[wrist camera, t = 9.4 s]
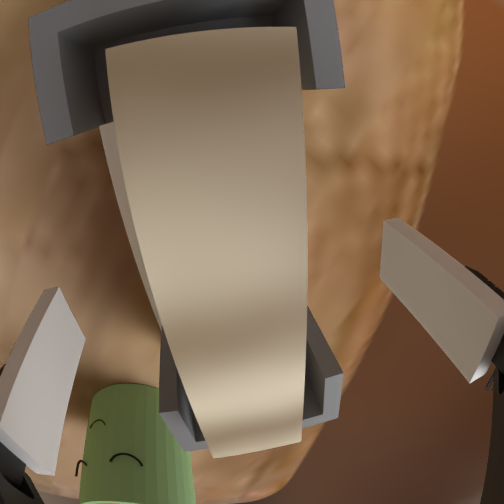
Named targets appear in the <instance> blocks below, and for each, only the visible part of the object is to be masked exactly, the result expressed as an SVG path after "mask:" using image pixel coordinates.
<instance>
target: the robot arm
mask: <svg viewBox="0 0 504 504" xmlns="http://www.w3.org/2000/svg"><path fill="white" fill-rule="evenodd" d="M379 278H380V279H381V280H382V281H383V282H384V283H385V284H386V285H387V287H388V288H389V289H390V290H391V291H392V292H393V293H394V294H395V295H396V296H397V298H398V299H399V300H400V301H401V302H402V303H403V304H404V305H405V306H406V308H407V309H408V310H409V311H410V312H411V313H412V314H413V316H414V317H415V318H416V319H417V320H418V321H419V322H420V324H421V325H422V326H423V327H424V328H425V330H426V331H427V332H428V333H429V334H430V335H431V337H432V338H433V339H434V340H435V341H436V342H437V344H438V345H439V346H440V347H441V348H442V350H443V351H444V352H445V353H446V355H447V356H448V357H449V358H450V359H451V360H452V362H453V363H454V364H455V366H456V367H457V368H458V369H459V371H460V372H461V373H462V374H463V376H464V377H465V378H466V379H467V381H468V382H469V383H471V382H473V381H474V380H476V379H478V378H479V377H481V376H483V375H484V374H485V373H486V371H487V369H488V367H489V365H490V363H491V361H492V362H493V363H494V365H495V366H496V368H495V370H494V372H493V374H492V376H491V378H490V379H489V381H488V383H487V385H486V389H485V390H488V389H489V387H490V386H491V384H492V382H493V389H492V391H493V413H492V427H491V438H490V448H489V456H488V463H487V470H486V476H485V482H484V488H483V492H482V497H481V502H480V504H504V293H503V292H502V291H501V290H500V289H499V288H498V287H497V288H496V287H495V285H494V284H493V283H492V282H490V281H488V279H487V278H486V277H484V276H483V275H482V274H481V273H479V272H478V271H476V270H474V269H471V268H469V267H467V266H465V267H464V266H463V265H462V264H460V263H459V262H458V261H457V260H455V259H454V258H453V257H451V256H450V255H449V254H447V253H446V252H445V251H444V250H442V249H441V248H440V247H438V246H437V245H436V244H434V243H433V242H432V241H430V240H429V239H428V238H426V237H425V236H423V235H422V234H421V233H420V232H418V231H417V230H415V229H414V228H413V227H411V226H410V225H408V224H407V223H406V222H404V221H403V220H401V219H400V218H394V219H389V220H384V221H383V237H382V252H381V265H380V276H379ZM85 340H86V339H85V337H84V335H83V333H82V331H81V330H80V328H79V326H78V324H77V322H76V320H75V318H74V316H73V314H72V312H71V310H70V308H69V306H68V304H67V302H66V300H65V298H64V296H63V294H62V292H61V289H60V287H55V288H51V289H46V290H44V291H43V293H42V295H41V297H40V298H39V300H38V302H37V304H36V305H35V307H34V309H33V311H32V313H31V315H30V316H29V318H28V320H27V322H26V324H25V326H24V328H23V330H22V332H21V334H20V336H19V338H18V340H17V342H16V344H15V346H14V348H13V350H12V352H11V354H10V356H9V358H8V360H7V363H6V364H4V366H3V367H2V368H1V369H0V504H44V502H43V500H42V499H41V497H40V495H39V493H38V492H37V490H36V488H35V486H34V484H33V482H32V480H31V478H30V477H29V476H28V475H27V474H26V473H25V467H26V465H27V466H28V467H29V468H30V469H32V470H33V471H34V472H35V473H37V474H45V475H54V476H55V470H56V463H57V457H58V452H59V446H60V441H61V435H62V430H63V425H64V421H65V416H66V412H67V407H68V403H69V399H70V394H71V390H72V386H73V382H74V379H75V375H76V371H77V367H78V364H79V360H80V357H81V353H82V350H83V346H84V343H85Z"/></svg>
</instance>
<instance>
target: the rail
mask: <svg viewBox="0 0 504 504" xmlns="http://www.w3.org/2000/svg"><path fill="white" fill-rule="evenodd" d="M105 54H106V64H107V74H108V82H109V91H110V98H111V106H112V113H113V120H114V126H115V132H116V138H117V144H118V150H119V156H120V161H121V166H122V171H123V177H124V181H125V186H126V191H127V196H128V200H129V205H130V209H131V214H132V218H133V222H134V226H135V231H136V235H137V239H138V243H139V247H140V250H141V254H142V258H143V262H144V265H145V269H146V273H147V276H148V280H149V283H150V287H151V290H152V294H153V297H154V300H155V304H156V307H157V310H158V313H159V317H160V320H161V323H162V326H163V329H164V332H165V335H166V338H167V341H168V344H169V347H170V350H171V353H172V356H173V359H174V361H175V364H176V367H177V370H178V373H179V375H180V378H181V381H182V383H183V386H184V389H185V391H186V394H187V396H188V399H189V402H190V404H191V407H192V409H193V412H194V414H195V417H196V419H197V422H198V424H199V426H200V429H201V431H202V433H203V436H204V438H205V440H206V443H207V445H208V447H209V450H210V452H211V454H212V456H213V458H219V457H226V456H233V455H239V454H245V453H250V452H255V451H261V450H266V449H270V448H275V447H280V446H284V445H288V444H293V443H297V442H301V435H302V421H303V404H304V386H305V364H306V335H307V274H308V250H307V189H306V160H305V137H304V119H303V102H302V87H301V74H300V61H299V50H298V39H297V29H296V27H247V28H230V29H218V30H207V31H198V32H190V33H183V34H176V35H169V36H163V37H158V38H152V39H147V40H142V41H137V42H132V43H128V44H124V45H119V46H115V47H111V48H107V49H105Z"/></svg>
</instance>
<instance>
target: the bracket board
mask: <svg viewBox="0 0 504 504" xmlns="http://www.w3.org/2000/svg"><path fill="white" fill-rule="evenodd" d="M28 20H29V35H30V47H31V57H32V65H33V73H34V80H35V87H36V93H37V99H38V105H39V110H40V115H41V120H42V125H43V130H44V134H45V139H46V143H47V145H49V144H51V143H54V142H57V141H60V140H62V139H65V138H68V137H71V136H74V135H77V134H79V133H82V132H85V131H87V130H90V129H93V128H96V127H98V126H99V128H100V133H101V138H102V142H103V147H104V151H105V155H106V159H107V164H108V168H109V172H110V176H111V180H112V183H113V187H114V191H115V195H116V198H117V202H118V206H119V209H120V213H121V216H122V219H123V223H124V226H125V229H126V233H127V236H128V239H129V242H130V246H131V249H132V252H133V255H134V258H135V261H136V264H137V267H138V270H139V273H140V276H141V279H142V282H143V284H144V287H145V290H146V293H147V296H148V298H149V301H150V304H151V306H152V309H153V312H154V314H155V317H156V320H157V322H158V325H159V327H160V330H161V350H160V379H159V414H160V415H161V417H162V419H163V420H164V422H165V423H166V425H167V427H168V428H169V430H170V431H171V433H172V434H173V436H174V437H175V439H176V440H177V442H178V443H179V445H180V446H181V448H182V449H183V450H184V452H185V451H193V450H200V449H207V448H209V447H208V445H207V443H206V440H205V438H204V436H203V433H202V431H201V429H200V426H199V424H198V422H197V419H196V417H195V414H194V412H193V409H192V407H191V404H190V402H189V399H188V396H187V394H186V391H185V389H184V386H183V383H182V381H181V378H180V375H179V373H178V370H177V367H176V364H175V361H174V359H173V356H172V353H171V350H170V347H169V344H168V341H167V338H166V335H165V332H164V329H163V326H162V323H161V320H160V317H159V313H158V310H157V307H156V304H155V300H154V297H153V294H152V290H151V287H150V283H149V280H148V276H147V273H146V269H145V265H144V262H143V258H142V254H141V250H140V247H139V243H138V239H137V235H136V231H135V226H134V222H133V218H132V214H131V209H130V205H129V200H128V196H127V191H126V186H125V181H124V177H123V171H122V166H121V161H120V156H119V150H118V144H117V138H116V132H115V126H114V120H113V113H112V106H111V98H110V91H109V82H108V74H107V64H106V54H105V49H107V48H111V47H115V46H119V45H124V44H128V43H132V42H137V41H142V40H147V39H152V38H158V37H163V36H169V35H176V34H183V33H190V32H198V31H207V30H218V29H230V28H247V27H296V29H297V39H298V50H299V61H300V74H301V87H302V90H313V89H337V88H345V82H344V73H343V64H342V56H341V48H340V40H339V33H338V27H337V20H336V14H335V8H334V2H333V0H69V1H67V2H64V3H62V4H59V5H57V6H54V7H52V8H50V9H47V10H45V11H43V12H41V13H38V14H36V15H34V16H32V17H30V18H28ZM342 381H343V371H342V369H341V367H340V366H339V364H338V362H337V360H336V358H335V356H334V354H333V352H332V350H331V349H330V347H329V345H328V343H327V341H326V339H325V337H324V335H323V334H322V332H321V330H320V328H319V326H318V324H317V322H316V321H315V319H314V317H313V315H312V313H311V311H310V309H309V308H308V306H307V335H306V364H305V386H304V404H303V421H302V428H305V427H309V426H312V425H316V424H319V423H322V422H326V421H329V420H332V419H335V418H338V413H339V405H340V398H341V390H342Z"/></svg>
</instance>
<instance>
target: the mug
mask: <svg viewBox="0 0 504 504" xmlns="http://www.w3.org/2000/svg"><path fill="white" fill-rule="evenodd" d="M80 462H82V472H81V482H80V493H79V504H196V502H195V494H194V485H193V476H192V466H191V455H190V451H185V452H184V450H183V449H182V448H181V446H180V445H179V443H178V442H177V440H176V439H175V437H174V436H173V434H172V433H171V431H170V430H169V428H168V427H167V425H166V423H165V422H164V420H163V419H162V417H161V415H160V414H159V389H158V388H155V387H151V386H147V385H141V384H130V383H126V384H116V385H111V386H108V387H105V388H103V389H101V390H99V391H98V392H97V393H96V394H95V395H94V397H93V399H92V403H91V409H90V415H89V421H88V427H87V433H86V440H85V447H84V455H83V460H79V461H78V463H77V467H76V473H75V476H77V475H78V468H79V464H80Z"/></svg>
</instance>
